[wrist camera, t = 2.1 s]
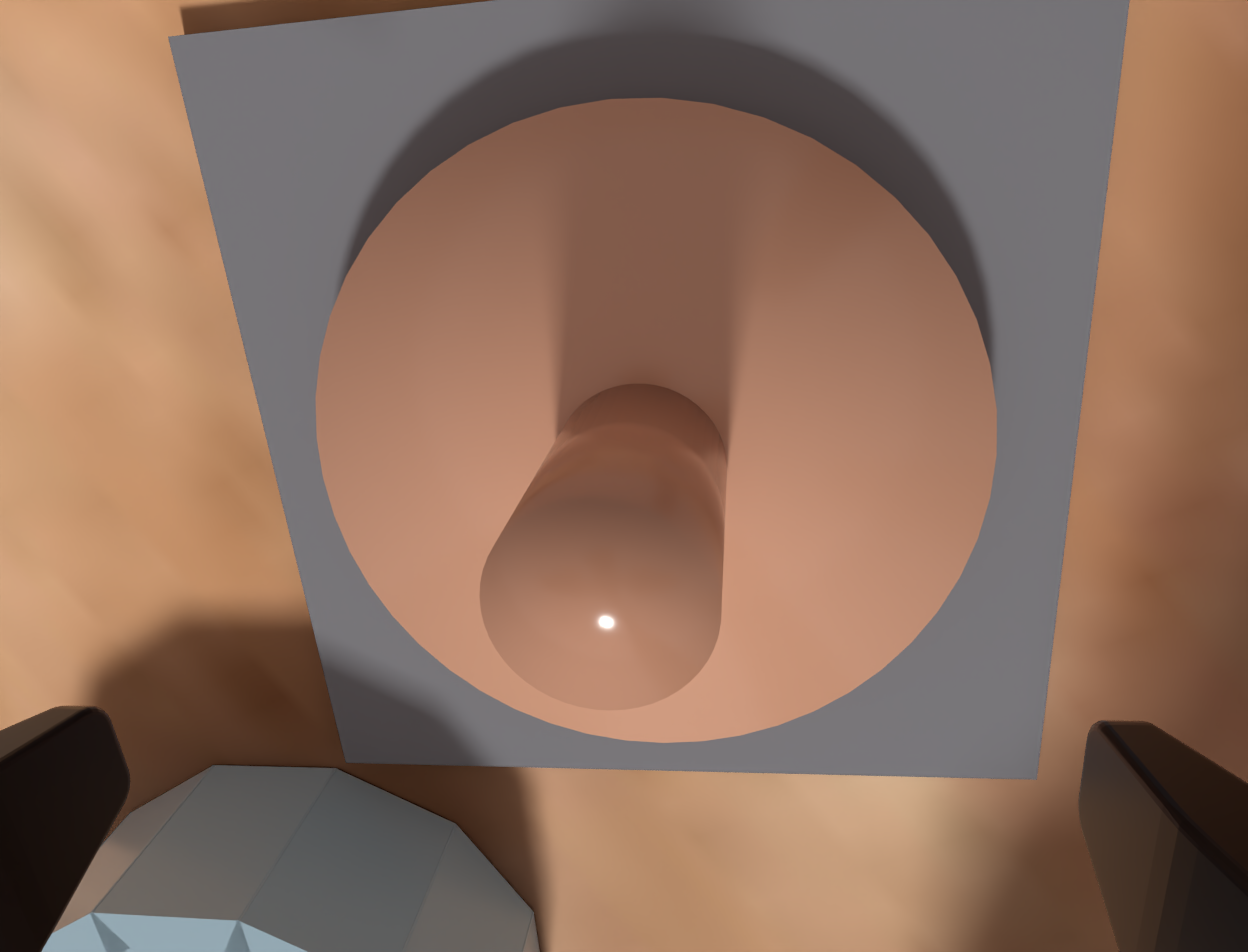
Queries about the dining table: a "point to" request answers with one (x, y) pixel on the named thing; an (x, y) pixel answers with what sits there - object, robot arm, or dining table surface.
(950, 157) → the mat
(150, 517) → the dining table surface
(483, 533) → the lid
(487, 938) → the bowl
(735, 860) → the dining table surface
